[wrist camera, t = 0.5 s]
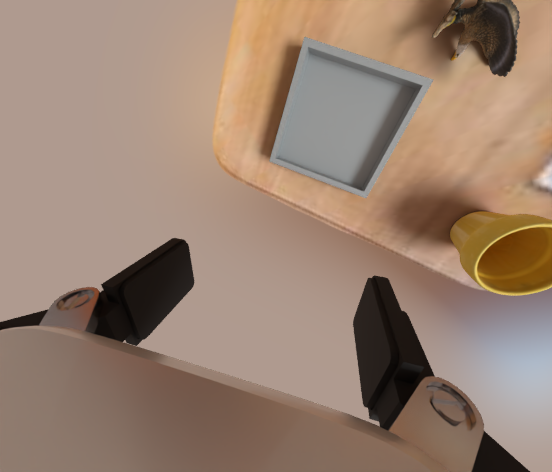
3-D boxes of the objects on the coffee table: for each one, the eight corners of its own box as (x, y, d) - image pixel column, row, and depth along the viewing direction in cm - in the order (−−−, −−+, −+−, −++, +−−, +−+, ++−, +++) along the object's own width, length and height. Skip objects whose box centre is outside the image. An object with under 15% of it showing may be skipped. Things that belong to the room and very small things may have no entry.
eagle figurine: (411, 71, 26) (484, 98, 24) (452, -2, 19) (559, 28, 17) (439, 24, 26) (513, 47, 24) (490, -65, 19) (598, -41, 17)
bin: (306, 46, 28) (304, 36, 25) (423, 85, 27) (433, 79, 24) (273, 159, 35) (269, 161, 33) (363, 193, 34) (366, 198, 32)
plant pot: (527, 239, 31) (600, 277, 23) (451, 266, 36) (490, 306, 27) (503, 185, 29) (574, 205, 21) (426, 222, 34) (458, 250, 25)
